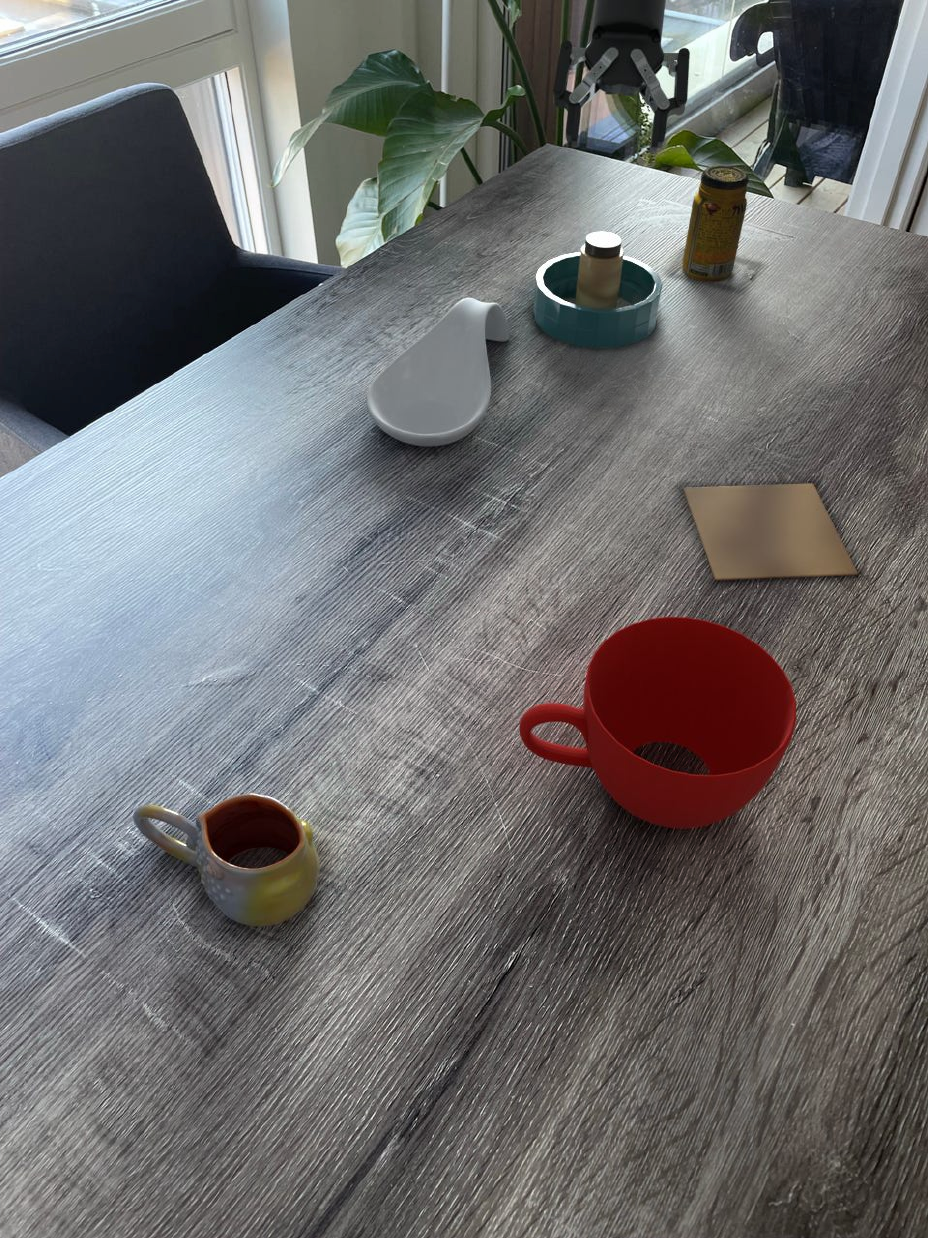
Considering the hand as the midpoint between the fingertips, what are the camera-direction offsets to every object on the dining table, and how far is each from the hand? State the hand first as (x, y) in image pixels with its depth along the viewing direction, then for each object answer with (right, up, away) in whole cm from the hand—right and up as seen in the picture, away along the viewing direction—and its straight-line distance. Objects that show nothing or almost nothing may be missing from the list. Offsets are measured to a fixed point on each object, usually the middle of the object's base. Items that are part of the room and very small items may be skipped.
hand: (613, 147), depth 108 cm
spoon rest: (-18, -28, -6) cm, 34 cm away
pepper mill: (-2, -17, +4) cm, 18 cm away
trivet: (+10, -44, -21) cm, 49 cm away
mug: (-31, -67, -44) cm, 86 cm away
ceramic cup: (-4, -62, -39) cm, 74 cm away
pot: (-2, -18, +4) cm, 18 cm away
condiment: (+14, -10, +12) cm, 21 cm away
